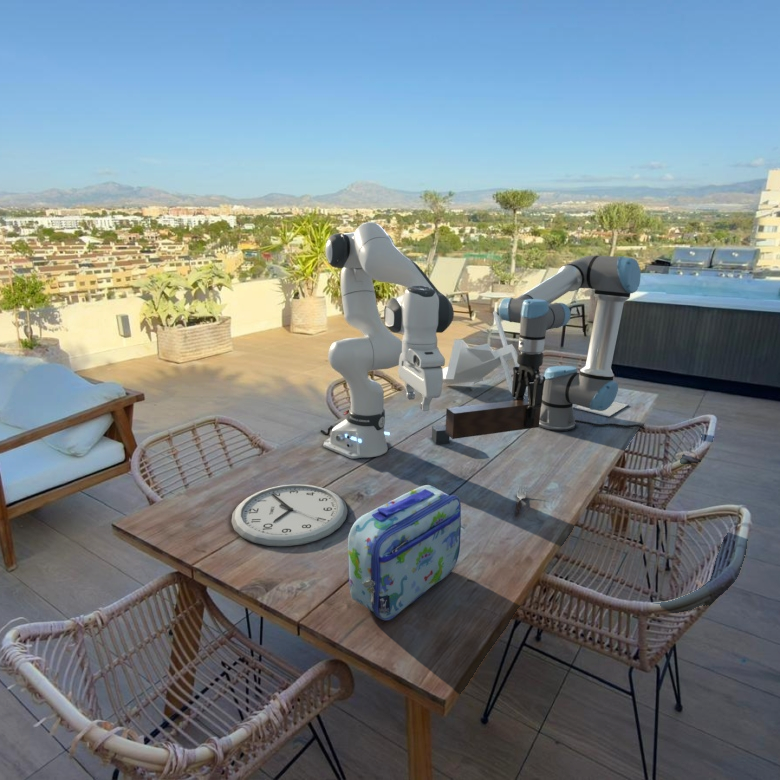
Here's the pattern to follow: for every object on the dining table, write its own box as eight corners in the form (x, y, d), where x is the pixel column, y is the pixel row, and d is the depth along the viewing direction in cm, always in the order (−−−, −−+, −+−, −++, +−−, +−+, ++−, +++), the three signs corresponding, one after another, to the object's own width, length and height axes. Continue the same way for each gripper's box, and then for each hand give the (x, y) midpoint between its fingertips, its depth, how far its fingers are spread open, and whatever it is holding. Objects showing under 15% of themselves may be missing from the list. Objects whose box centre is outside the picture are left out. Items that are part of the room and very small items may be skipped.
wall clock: (347, 538, 125) (219, 542, 122) (347, 544, 125) (219, 548, 123) (347, 480, 153) (242, 482, 151) (347, 485, 154) (243, 487, 151)
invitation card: (608, 416, 214) (573, 407, 224) (608, 416, 214) (573, 408, 224) (628, 404, 229) (594, 396, 238) (628, 405, 229) (594, 397, 238)
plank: (529, 421, 168) (531, 398, 165) (538, 427, 163) (541, 403, 161) (445, 433, 158) (446, 408, 155) (452, 439, 153) (454, 413, 151)
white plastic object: (461, 429, 252) (437, 405, 227) (444, 352, 274) (420, 323, 250) (535, 404, 240) (518, 377, 215) (510, 326, 262) (492, 293, 237)
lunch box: (378, 635, 98) (379, 537, 91) (341, 606, 105) (340, 513, 99) (464, 574, 115) (470, 488, 109) (427, 553, 122) (431, 471, 116)
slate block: (444, 437, 190) (445, 425, 189) (449, 443, 185) (450, 430, 184) (431, 438, 189) (432, 425, 187) (435, 444, 184) (436, 431, 183)
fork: (510, 517, 138) (511, 510, 137) (518, 490, 152) (518, 484, 152) (520, 519, 137) (521, 512, 137) (527, 491, 152) (528, 485, 151)
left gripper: (393, 344, 140) (392, 393, 144) (423, 362, 121) (421, 418, 126) (414, 343, 142) (413, 391, 146) (448, 361, 124) (445, 415, 128)
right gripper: (503, 346, 164) (498, 415, 171) (538, 359, 148) (530, 435, 155) (524, 344, 166) (517, 413, 173) (560, 357, 150) (551, 432, 157)
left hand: (417, 404), depth 136 cm, fingers open, 8 cm apart
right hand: (523, 423), depth 164 cm, fingers closed on plank, 5 cm apart
